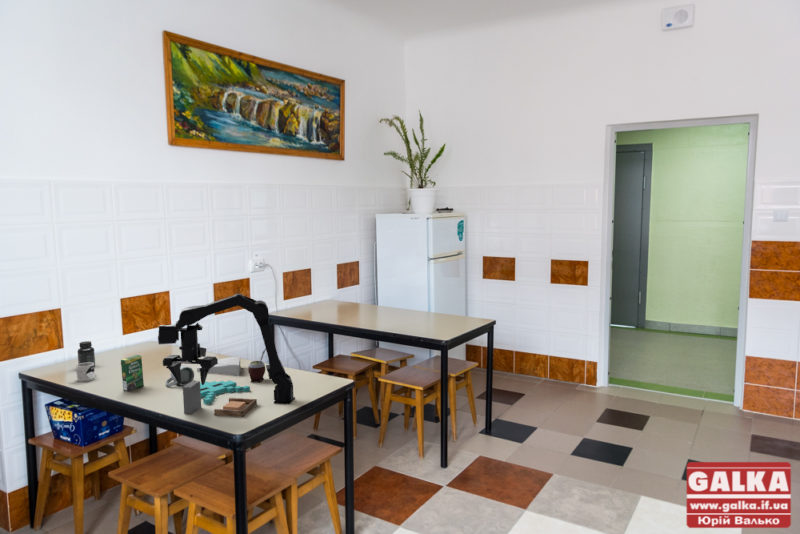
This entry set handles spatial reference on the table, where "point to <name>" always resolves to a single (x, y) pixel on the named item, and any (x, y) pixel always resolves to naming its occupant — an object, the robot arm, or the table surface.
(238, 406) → the terracotta tile
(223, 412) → the walnut bay
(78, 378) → the mug
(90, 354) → the supplement bottle
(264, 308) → the robot arm
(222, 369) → the ramp
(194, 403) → the grey matte slab
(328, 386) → the table surface
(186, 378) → the ceramic mug
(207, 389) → the alien figure
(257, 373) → the mate gourd
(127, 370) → the coffee box
